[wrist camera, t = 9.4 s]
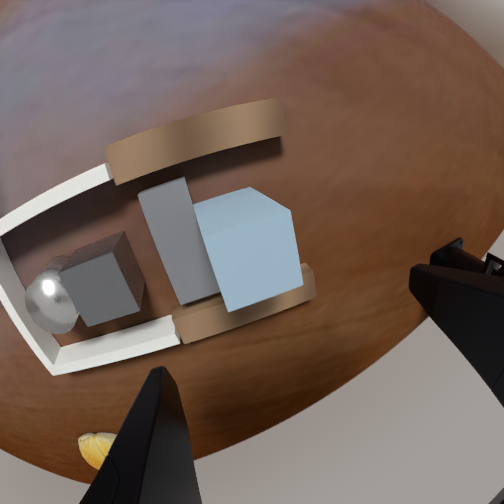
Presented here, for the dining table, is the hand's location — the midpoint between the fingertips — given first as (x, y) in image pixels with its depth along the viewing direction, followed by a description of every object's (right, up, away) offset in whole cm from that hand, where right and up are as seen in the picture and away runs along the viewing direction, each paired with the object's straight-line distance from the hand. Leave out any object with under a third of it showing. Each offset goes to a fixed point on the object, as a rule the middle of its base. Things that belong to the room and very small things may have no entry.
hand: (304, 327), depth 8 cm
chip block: (-12, +1, +9) cm, 15 cm away
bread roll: (-20, -23, +17) cm, 35 cm away
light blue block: (-5, +4, +10) cm, 12 cm away
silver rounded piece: (-15, 0, +9) cm, 18 cm away
